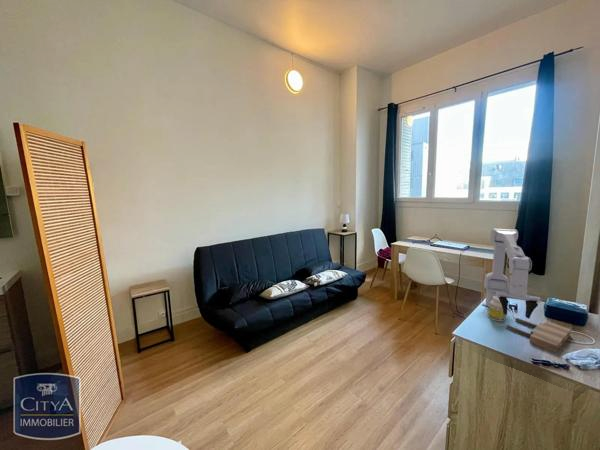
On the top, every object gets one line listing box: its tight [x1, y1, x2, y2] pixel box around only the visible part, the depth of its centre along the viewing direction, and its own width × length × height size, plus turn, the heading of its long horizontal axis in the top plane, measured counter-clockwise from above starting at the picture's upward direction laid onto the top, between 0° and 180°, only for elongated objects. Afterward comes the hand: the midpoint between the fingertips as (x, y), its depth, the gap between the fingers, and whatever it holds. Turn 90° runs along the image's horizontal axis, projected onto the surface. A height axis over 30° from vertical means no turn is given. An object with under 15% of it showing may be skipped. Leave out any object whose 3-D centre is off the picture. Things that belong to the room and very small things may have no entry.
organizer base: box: [505, 317, 572, 353], centre depth 110 cm, size 20×18×3 cm
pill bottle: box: [488, 296, 506, 323], centre depth 122 cm, size 6×6×11 cm
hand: (516, 315), depth 106 cm, fingers open, 7 cm apart
